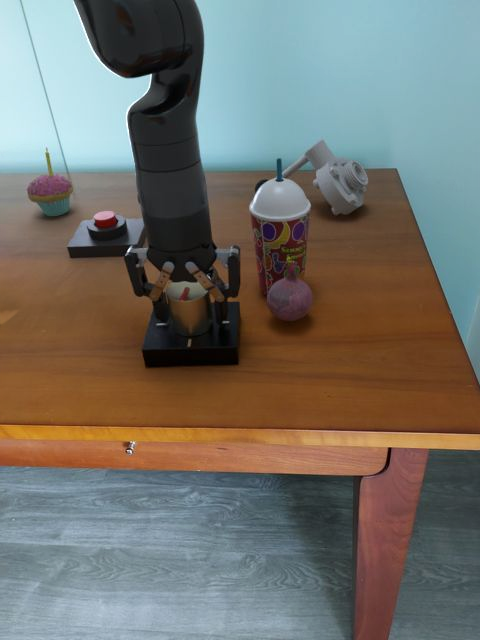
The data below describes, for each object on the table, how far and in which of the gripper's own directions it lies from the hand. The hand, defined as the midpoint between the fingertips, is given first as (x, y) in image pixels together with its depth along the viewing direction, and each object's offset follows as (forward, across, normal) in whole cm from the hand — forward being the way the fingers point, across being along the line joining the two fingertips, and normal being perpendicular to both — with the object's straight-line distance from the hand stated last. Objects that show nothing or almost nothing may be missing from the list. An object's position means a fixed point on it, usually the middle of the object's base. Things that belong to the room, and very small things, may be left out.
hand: (192, 320), depth 69 cm
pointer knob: (+1, 0, 0) cm, 1 cm away
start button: (0, +20, -28) cm, 34 cm away
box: (+4, +20, -28) cm, 34 cm away
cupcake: (+4, +35, -40) cm, 54 cm away
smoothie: (+4, -11, -13) cm, 17 cm away
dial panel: (+4, 0, 0) cm, 4 cm away
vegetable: (+4, -13, -5) cm, 14 cm away
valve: (+4, -15, -42) cm, 45 cm away
